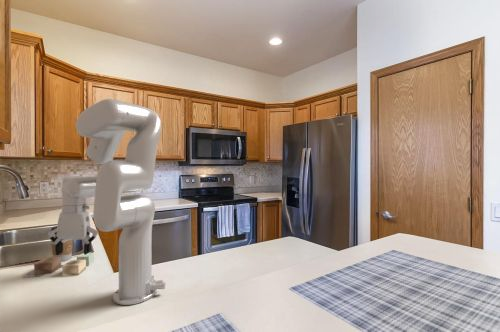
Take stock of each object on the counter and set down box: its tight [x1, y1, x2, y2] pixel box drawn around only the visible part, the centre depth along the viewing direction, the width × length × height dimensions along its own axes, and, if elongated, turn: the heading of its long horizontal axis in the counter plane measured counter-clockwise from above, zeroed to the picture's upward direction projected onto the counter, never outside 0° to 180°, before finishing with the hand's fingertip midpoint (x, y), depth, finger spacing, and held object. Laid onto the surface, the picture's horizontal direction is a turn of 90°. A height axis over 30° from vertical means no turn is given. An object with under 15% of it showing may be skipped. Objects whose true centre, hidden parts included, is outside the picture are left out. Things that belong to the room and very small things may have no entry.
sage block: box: [76, 252, 95, 267], centre depth 106 cm, size 4×4×5 cm
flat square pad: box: [21, 264, 64, 279], centre depth 100 cm, size 11×11×1 cm
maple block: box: [61, 259, 87, 277], centre depth 98 cm, size 6×6×5 cm
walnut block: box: [33, 257, 62, 275], centre depth 100 cm, size 6×6×4 cm
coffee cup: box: [50, 225, 74, 263], centre depth 112 cm, size 8×8×15 cm
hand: (73, 253), depth 98 cm, fingers open, 9 cm apart
